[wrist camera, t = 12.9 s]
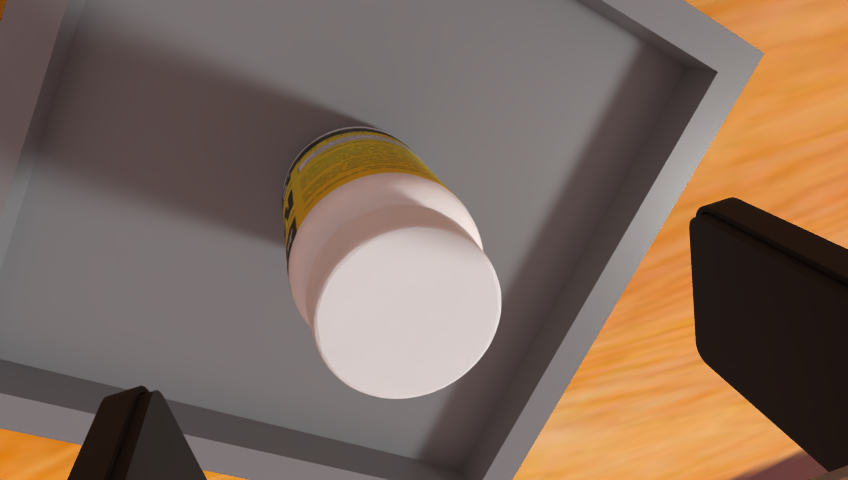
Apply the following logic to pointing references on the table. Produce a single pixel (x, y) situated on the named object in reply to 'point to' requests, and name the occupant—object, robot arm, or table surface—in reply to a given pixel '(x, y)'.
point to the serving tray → (263, 217)
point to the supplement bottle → (386, 265)
